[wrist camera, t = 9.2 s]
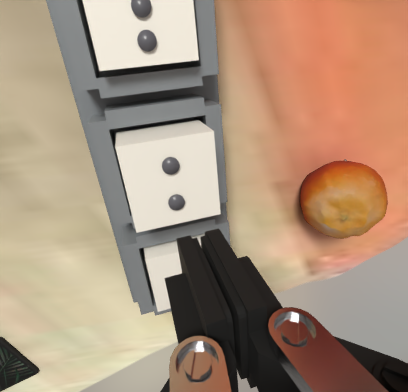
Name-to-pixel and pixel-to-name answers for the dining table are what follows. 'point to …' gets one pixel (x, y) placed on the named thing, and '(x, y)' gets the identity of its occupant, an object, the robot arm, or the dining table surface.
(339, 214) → the fruit
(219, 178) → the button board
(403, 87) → the dining table surface
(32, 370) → the smartphone
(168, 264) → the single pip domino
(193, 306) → the robot arm
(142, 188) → the two dot tile
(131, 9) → the three dot tile
